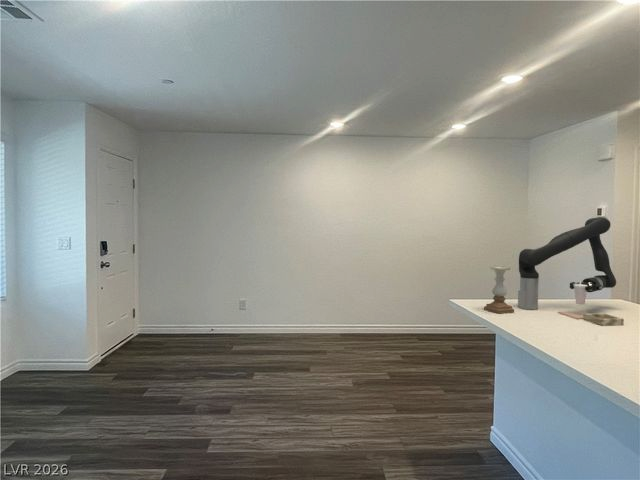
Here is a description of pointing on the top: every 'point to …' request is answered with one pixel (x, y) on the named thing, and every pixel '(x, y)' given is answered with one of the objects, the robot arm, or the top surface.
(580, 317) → the tile
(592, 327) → the top surface
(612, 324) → the square wooden tray
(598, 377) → the top surface
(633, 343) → the top surface
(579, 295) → the smoothie
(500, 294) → the candle holder
